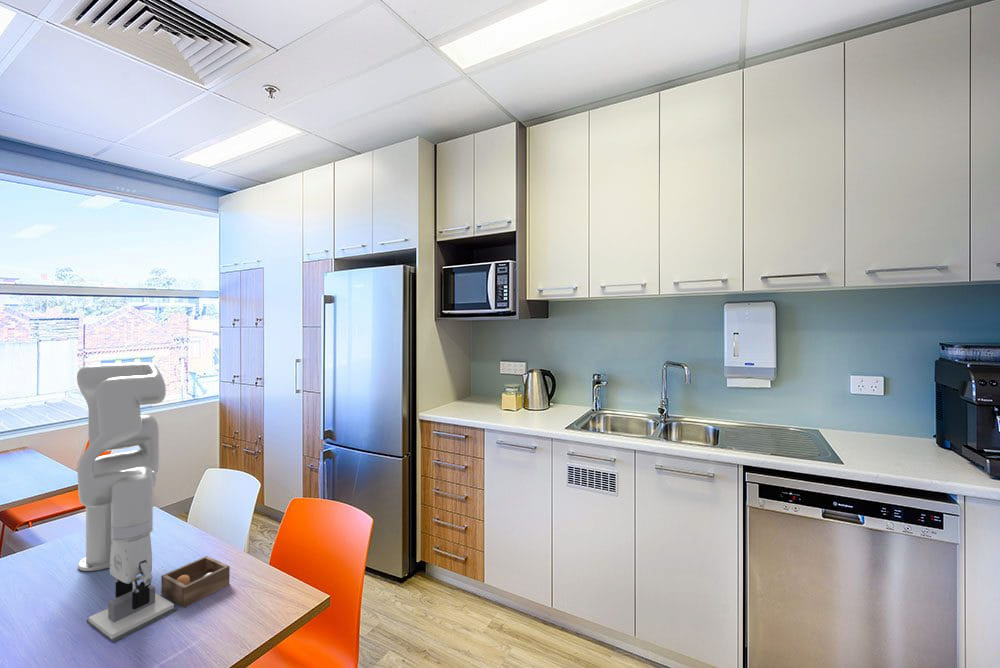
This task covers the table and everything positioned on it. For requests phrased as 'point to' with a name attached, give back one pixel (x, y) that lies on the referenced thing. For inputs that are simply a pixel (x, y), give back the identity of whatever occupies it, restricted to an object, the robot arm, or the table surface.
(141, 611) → the lid
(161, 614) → the mat
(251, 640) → the table surface
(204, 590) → the box
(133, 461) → the robot arm
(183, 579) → the orange ball
